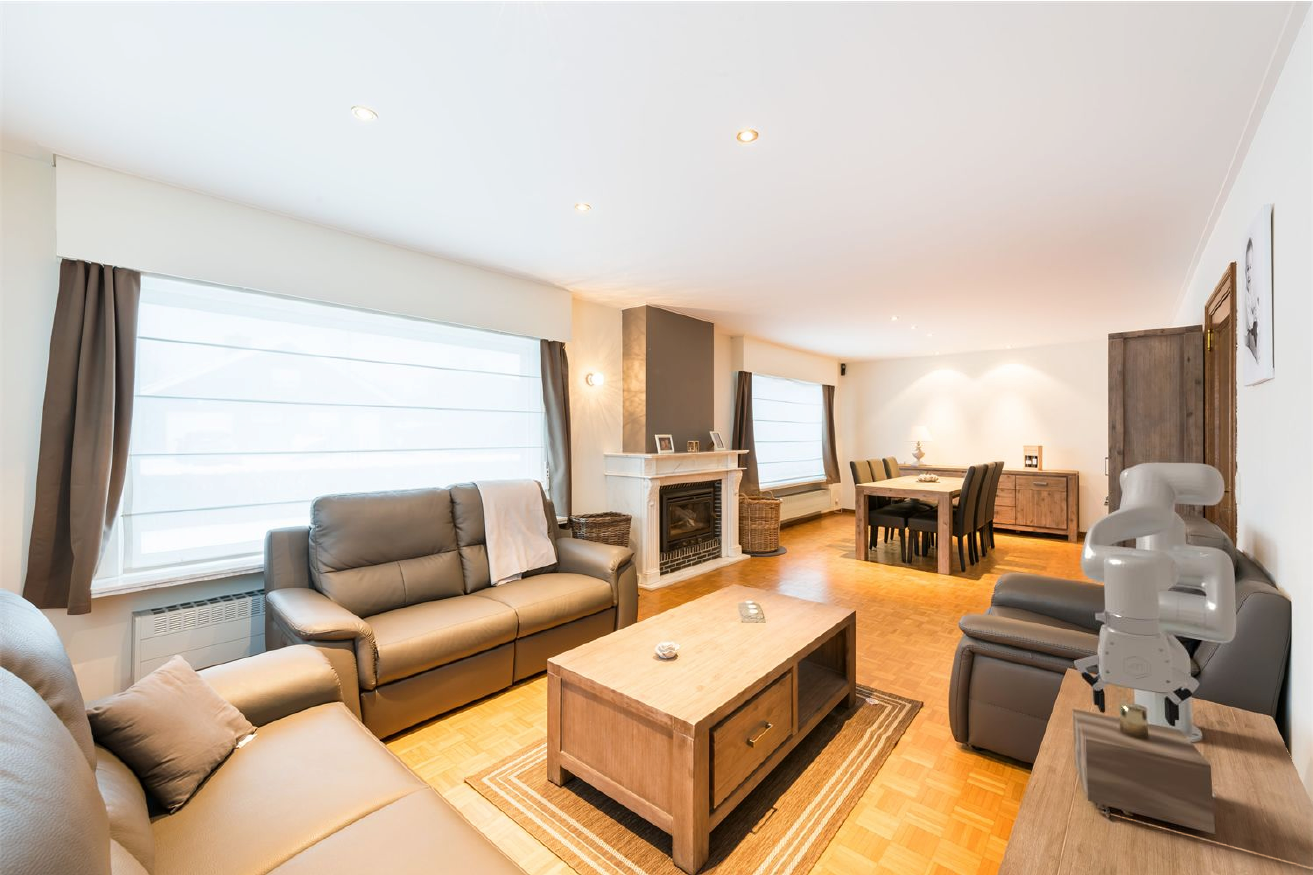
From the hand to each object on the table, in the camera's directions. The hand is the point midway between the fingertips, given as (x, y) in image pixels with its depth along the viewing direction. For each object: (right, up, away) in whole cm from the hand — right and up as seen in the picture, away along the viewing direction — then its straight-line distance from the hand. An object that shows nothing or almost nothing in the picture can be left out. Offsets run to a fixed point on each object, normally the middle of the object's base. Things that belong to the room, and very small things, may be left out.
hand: (1134, 715), depth 98 cm
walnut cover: (0, -14, -1) cm, 14 cm away
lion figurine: (-3, -16, -1) cm, 16 cm away
